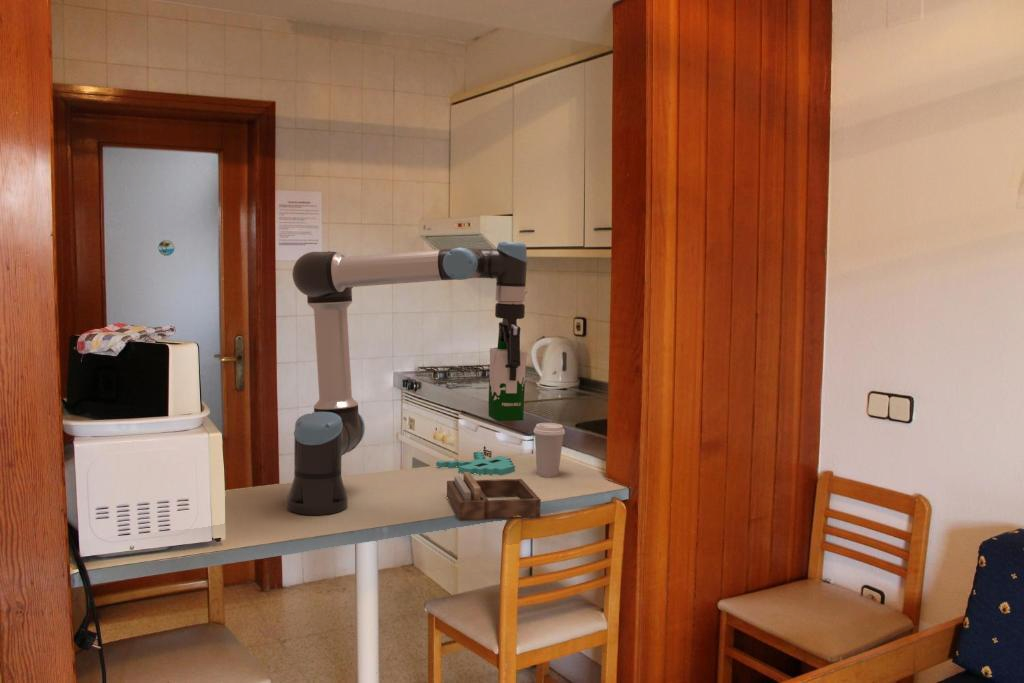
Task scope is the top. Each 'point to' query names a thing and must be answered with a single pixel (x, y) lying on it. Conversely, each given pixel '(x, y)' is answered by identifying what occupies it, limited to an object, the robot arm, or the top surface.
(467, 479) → the birch offcut
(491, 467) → the alien figure
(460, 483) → the grey offcut
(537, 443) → the coffee cup
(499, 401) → the soya milk
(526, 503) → the offcut rack
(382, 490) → the top surface
